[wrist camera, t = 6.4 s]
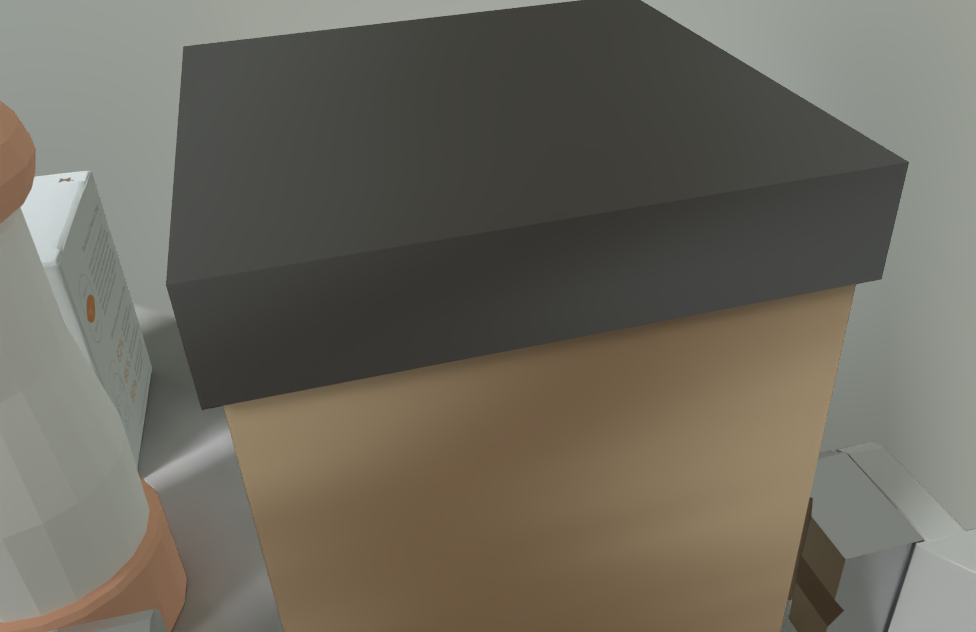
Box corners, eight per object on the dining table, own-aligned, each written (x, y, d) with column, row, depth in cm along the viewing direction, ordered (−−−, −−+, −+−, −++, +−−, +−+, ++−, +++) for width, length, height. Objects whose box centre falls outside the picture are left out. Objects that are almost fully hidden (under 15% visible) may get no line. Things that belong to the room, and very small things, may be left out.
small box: (32, 389, 42) (-54, 182, 36) (156, 370, 42) (92, 165, 37) (-10, 512, 35) (-123, 284, 29) (138, 486, 36) (57, 259, 30)
